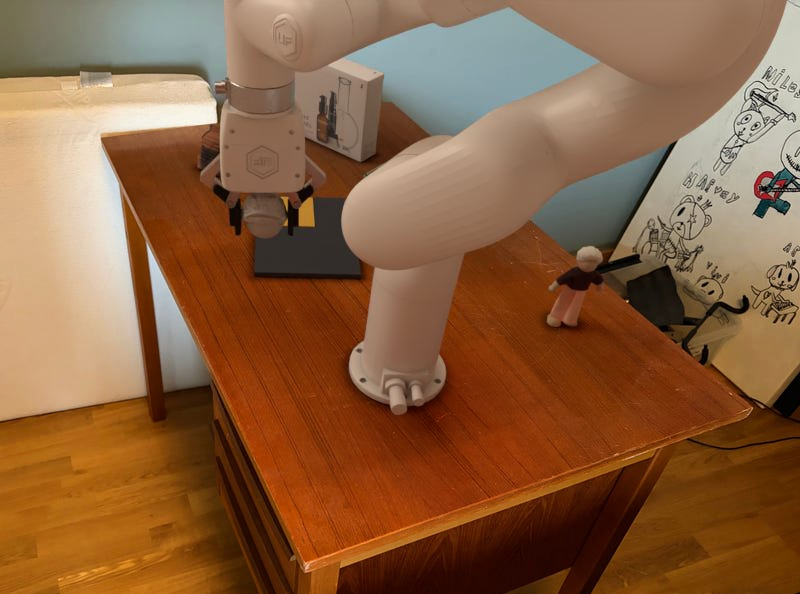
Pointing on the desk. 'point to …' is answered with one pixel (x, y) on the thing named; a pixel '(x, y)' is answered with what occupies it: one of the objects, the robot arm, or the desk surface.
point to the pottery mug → (209, 147)
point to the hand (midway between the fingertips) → (264, 229)
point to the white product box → (341, 107)
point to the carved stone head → (264, 214)
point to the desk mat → (309, 245)
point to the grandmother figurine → (575, 287)
